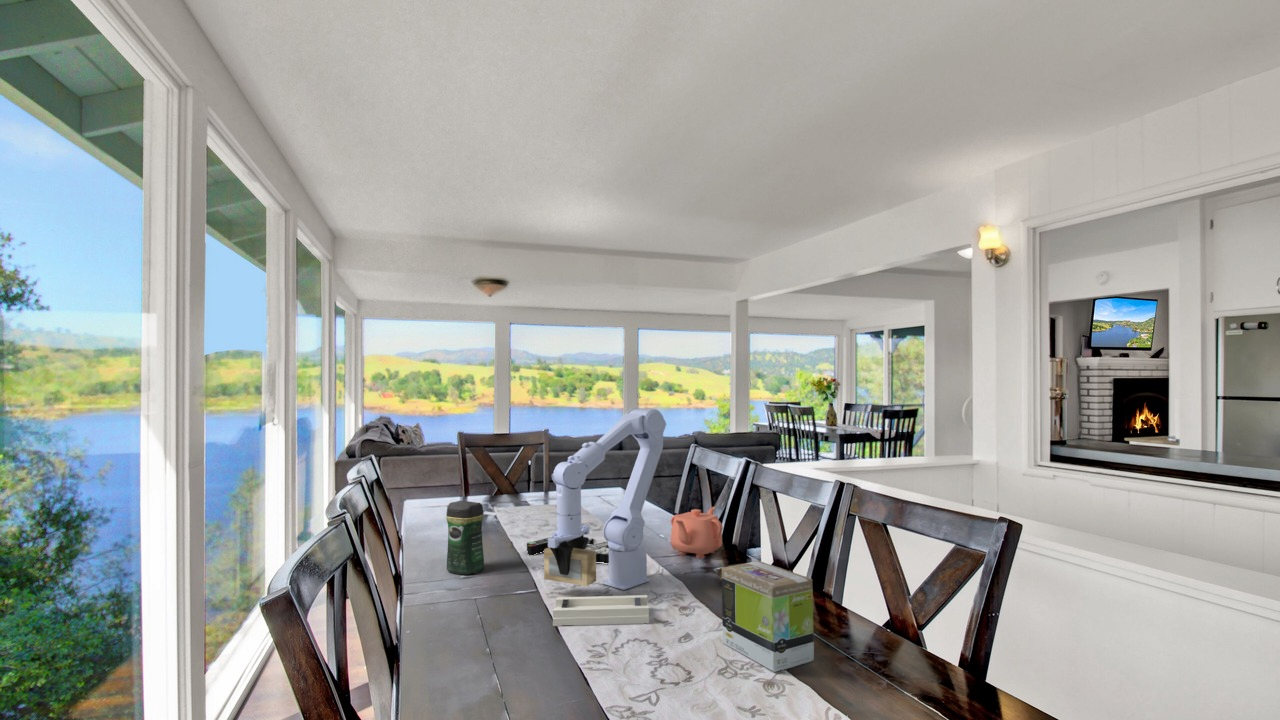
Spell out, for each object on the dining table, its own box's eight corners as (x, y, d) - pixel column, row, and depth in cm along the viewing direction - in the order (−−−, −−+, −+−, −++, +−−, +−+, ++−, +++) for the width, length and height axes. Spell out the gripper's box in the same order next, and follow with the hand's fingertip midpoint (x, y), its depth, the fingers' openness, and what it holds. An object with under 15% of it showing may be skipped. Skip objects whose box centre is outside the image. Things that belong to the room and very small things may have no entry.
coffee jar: (489, 569, 173) (488, 500, 173) (468, 577, 166) (467, 505, 166) (462, 564, 177) (462, 497, 178) (441, 572, 170) (441, 502, 171)
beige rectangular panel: (554, 574, 155) (553, 545, 155) (596, 581, 149) (595, 550, 149) (544, 579, 151) (543, 549, 151) (586, 586, 146) (586, 555, 146)
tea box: (816, 661, 114) (814, 578, 115) (773, 674, 109) (771, 587, 110) (761, 632, 127) (759, 558, 128) (720, 643, 122) (719, 566, 123)
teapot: (715, 545, 195) (714, 503, 195) (729, 560, 178) (728, 514, 179) (667, 547, 193) (666, 505, 193) (676, 562, 176) (675, 516, 177)
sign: (571, 532, 202) (639, 548, 182) (571, 541, 202) (639, 559, 182) (521, 544, 189) (589, 563, 168) (521, 554, 189) (589, 574, 168)
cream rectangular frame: (647, 607, 142) (646, 594, 142) (649, 623, 133) (649, 608, 133) (556, 610, 141) (556, 596, 141) (552, 626, 132) (552, 611, 132)
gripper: (572, 506, 159) (573, 561, 158) (536, 518, 146) (537, 577, 146) (596, 508, 156) (597, 564, 155) (562, 520, 143) (563, 582, 142)
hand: (569, 571), depth 150 cm, fingers closed on beige rectangular panel, 4 cm apart
